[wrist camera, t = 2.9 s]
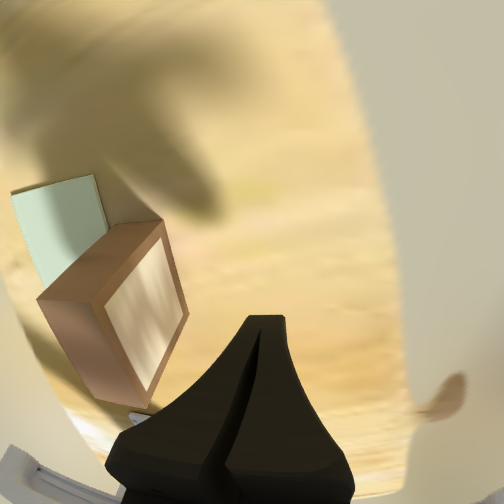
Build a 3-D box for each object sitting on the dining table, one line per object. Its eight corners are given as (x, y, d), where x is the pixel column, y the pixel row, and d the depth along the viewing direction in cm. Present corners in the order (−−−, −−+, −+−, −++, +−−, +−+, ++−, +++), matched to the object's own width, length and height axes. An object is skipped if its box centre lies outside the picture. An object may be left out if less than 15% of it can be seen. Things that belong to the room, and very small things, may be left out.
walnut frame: (189, 313, 19) (146, 409, 13) (145, 312, 19) (95, 398, 13) (163, 219, 16) (90, 302, 10) (115, 224, 16) (36, 299, 10)
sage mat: (152, 347, 21) (151, 350, 20) (73, 338, 22) (71, 340, 22) (93, 174, 15) (90, 175, 15) (12, 195, 17) (9, 196, 16)
